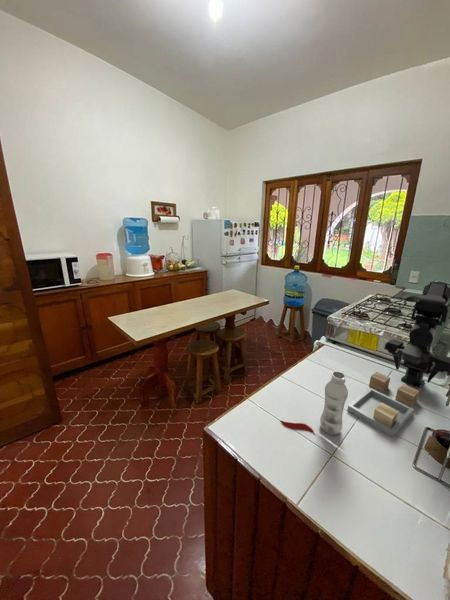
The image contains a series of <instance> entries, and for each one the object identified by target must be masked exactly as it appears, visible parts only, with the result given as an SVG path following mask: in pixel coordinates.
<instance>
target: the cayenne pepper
mask: <svg viewBox="0 0 450 600" xmlns="http://www.w3.org/2000/svg"><path fill="white" fill-rule="evenodd" d="M280 422H282V423H281V425H282V426H284V427H286V428H288V429H293V430H302V431H307V432H309V433H313V434H314V435H316V434H315V431H314V430H313V429H312V427H310V426H309V425H307V424H306V423H303V422H296V423H295V422H289V421H284V420H280Z"/></svg>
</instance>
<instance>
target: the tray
mask: <svg viewBox="0 0 450 600" xmlns="http://www.w3.org/2000/svg"><path fill="white" fill-rule="evenodd" d="M381 403H384V404H386V405H388V406H390V407H391V408H393V409H395V410H397V411H399V414H398V418H397V422H396V424H395V425H394V426H393V427H392V428H390V427H388V426H387V425H385V424H383V423H381V422H380V421H378V420H376V419H374V418H373V416H374V411H375V409H376V408H377V407H378V406H379V405H380V404H381ZM414 409H415V408H413V407H410V406H408V405H406V404H404V403H402V402H400V401H398V400H396V399H394V398H392V397H390V396H388V395H386V394H384V393H383V392H381V391H379V390H377V389H375V388H373V387H369V388H368V389H367V390H365V391H364V392H363V393H362V394H360V395H359V396H358V397H357V398H355V399H354V400H353V401H352V402H350V403H349V404H348V405H347V411H348V412H350V413H351V414H353V415H354V416H356V417H357V418H359V419H361V420H363V421H365V422H366V423H368V424H369V425H370V426H373V427H374V428H376V429H378V430H379V431H381V432H382V433H385V435H387V436H389V437H390V438H393V437H394V436H395V435H396V434H397V433H398V432H399V430H400V429H401V428H402V427H403V426H404V425H405V423H406V422H407V421H408V420H409V419H410V417H412V415H413V414H414Z"/></svg>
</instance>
